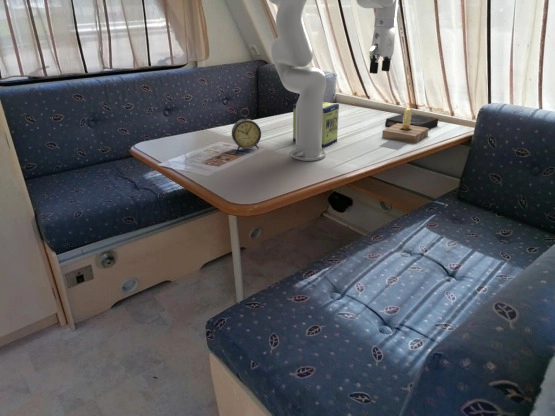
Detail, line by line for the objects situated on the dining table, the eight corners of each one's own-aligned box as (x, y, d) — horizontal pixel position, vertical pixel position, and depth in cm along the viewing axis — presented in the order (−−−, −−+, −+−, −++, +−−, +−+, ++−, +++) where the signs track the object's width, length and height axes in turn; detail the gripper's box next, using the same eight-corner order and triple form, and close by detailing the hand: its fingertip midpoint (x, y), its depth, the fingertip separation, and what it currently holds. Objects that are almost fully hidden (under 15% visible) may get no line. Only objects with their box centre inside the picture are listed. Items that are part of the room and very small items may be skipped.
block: (414, 144, 163) (415, 135, 161) (381, 138, 171) (382, 130, 169) (427, 136, 172) (428, 128, 171) (396, 131, 180) (397, 123, 179)
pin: (406, 138, 170) (410, 109, 164) (399, 137, 171) (403, 109, 166) (409, 137, 172) (413, 108, 166) (402, 136, 173) (406, 107, 168)
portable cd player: (384, 127, 188) (385, 119, 186) (405, 120, 198) (406, 112, 196) (416, 134, 176) (417, 125, 175) (437, 127, 187) (438, 118, 185)
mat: (397, 150, 156) (397, 149, 156) (378, 146, 161) (378, 146, 161) (408, 144, 163) (408, 143, 163) (389, 140, 168) (389, 140, 168)
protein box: (324, 148, 161) (326, 108, 154) (292, 141, 169) (292, 104, 162) (338, 141, 168) (339, 103, 161) (306, 136, 177) (306, 99, 170)
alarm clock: (234, 152, 158) (231, 110, 150) (232, 148, 162) (229, 107, 155) (262, 150, 160) (260, 108, 153) (258, 146, 165) (257, 105, 158)
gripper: (383, 24, 143) (377, 75, 150) (404, 23, 155) (398, 71, 162) (364, 23, 147) (359, 73, 155) (386, 23, 159) (381, 69, 167)
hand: (379, 72), depth 158 cm, fingers open, 9 cm apart
